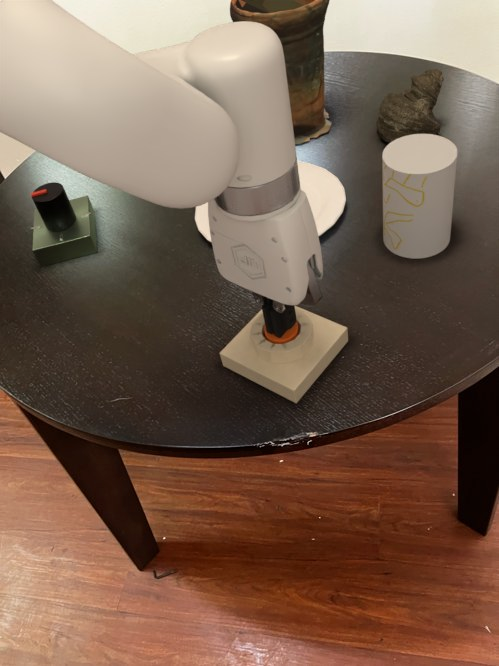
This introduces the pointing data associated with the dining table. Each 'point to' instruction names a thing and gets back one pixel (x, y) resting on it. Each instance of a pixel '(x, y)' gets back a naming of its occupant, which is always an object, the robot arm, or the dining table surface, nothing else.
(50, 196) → the dial
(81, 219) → the dial panel
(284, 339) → the button
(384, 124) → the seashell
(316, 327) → the square push button base
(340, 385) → the dining table surface
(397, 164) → the white patterned cylinder
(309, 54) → the vessel
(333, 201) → the plate
